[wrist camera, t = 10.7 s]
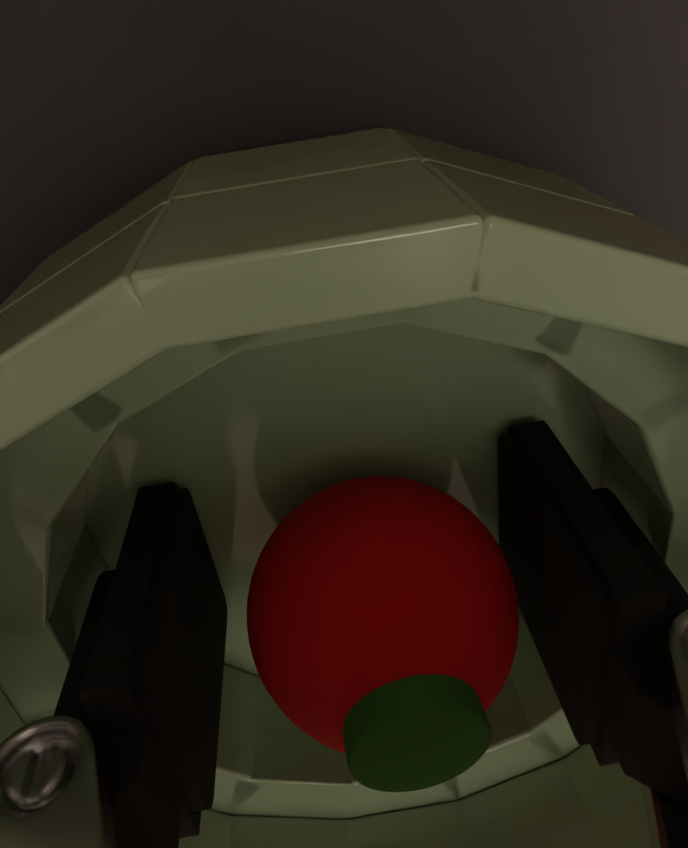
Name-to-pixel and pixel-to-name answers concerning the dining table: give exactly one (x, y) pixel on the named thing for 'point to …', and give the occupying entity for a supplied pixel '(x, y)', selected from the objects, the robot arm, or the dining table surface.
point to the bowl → (339, 434)
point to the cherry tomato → (385, 628)
